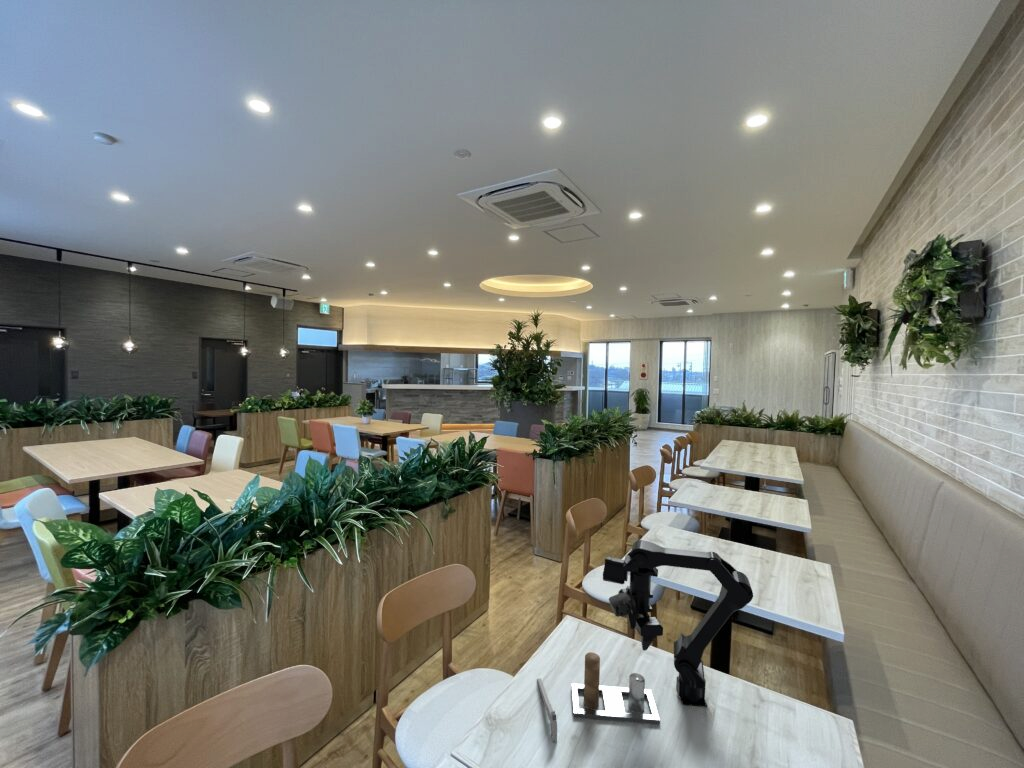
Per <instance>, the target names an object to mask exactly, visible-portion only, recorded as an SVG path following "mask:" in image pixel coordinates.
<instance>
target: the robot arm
mask: <svg viewBox="0 0 1024 768" xmlns="http://www.w3.org/2000/svg"><path fill="white" fill-rule="evenodd" d="M603 566H604V567H603V572H602V581H604V582H608V583H614V584H618V585H624V584H626V583H625V582H628V581H629V585H627V586H626V587H625V588H620V589H619V591H618V593H617V594H615V595H612V596H610V597H609V598H608V601H609V605H610V607H611V610H612V611H613V613H614V616H615V617H618V618H619V617H621V618H622V617H626V616H627V620H628V624H629V628H630V629H631V630H635V629H636V631H637V633H638V635H639V636H640V641H641V649H642V651H647V650H648V649H649V647H650V646H651V644H653V641H654V640H655V639H656V637H660V636H663V635H664V626H663V625H662V624H661V622H660V621H659V620H658V618H656V616H650V614H649V613H653V610H654V609H653V607H652V606H651V599H653V598H654V594H653V592H652V591H651V584H652V577H653V578H654V577H655V578H657V577H659V576H658V575H659V569H658V567H662V566H663V567H674V568H682V569H689V570H690V569H692V570H701V571H708V572H710V573H711V574H713V576H714V577H715V578H716V579H717V582H719V583H720V585H721V587H720V591H719V594H718V597H717V598H716V600H715V601H714V602H713V604H712V605H711V607H710V608H709V609H708V611H707V612H706V613H705V615H703V618H702V619H701V620H700V622H698V624H697V625H696V626H695V628H694V630H693V631H692V632H691V634H689V635H686V636H685V635H684V634H683V633H682V632H681V633H679V637H678V638H677V639H676V640H675V641H673V665H674V666H673V667H674V668H675V670H676V672H677V673H678V675H677V676H676V681H675V682H676V685H675V688H676V689H675V691H676V693H677V695H678V697H679V698H680V701H681V704H682V705H684V706H693V707H694V706H695V707H705V708H706V707H708V702H707V701H706V684H707V682H706V678H705V671H704V661H703V660H702V658H703V655H704V653H705V652H704V651H705V650H706V648H707V647H708V646H709V645H710V643H711V642H712V640H713V639H714V638H715V636H717V634H718V633H719V631H720V630H721V629H722V627H723V626H725V623H726V622H727V621H728V619H729V618H730V617H731V615H732V614H734V612H736V611H739V610H742V609H743V608H745V607H746V606H747V605H748V604H749V603H751V602H752V601H753V598H754V592H753V589H752V587H751V583H750V579H749V578H748V576H747V575H746V574H745V573H743V572H742V571H739V570H737V569H736V568H735V567H733V566H732V564H730V563H729V562H728V561H726V560H724V558H722V557H721V556H720V555H719V554H718V553H717V552H716V551H700V550H689V549H681V548H680V549H679V548H671V547H670V548H669V547H663V546H661V545H658V544H656V543H654V542H651V541H647V540H644V539H643V540H642V539H639V540H638V539H637V540H636V541H634V543H632V546H631V550H630V551H629V552H628V553H627V554H626V555H625V558H624V559H621V558H615V557H612V556H605V558H604V565H603ZM628 578H629V579H628Z"/></svg>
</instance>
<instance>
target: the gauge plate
mask: <svg viewBox="0 0 1024 768" xmlns="http://www.w3.org/2000/svg"><path fill="white" fill-rule="evenodd" d="M579 693H584V683H573V682H572V683H571V699H572V701H571V702H572V714H573V718H576V719H577V718H579V719H580V718H581V719H588V720H589V719H590V720H591V719H592V720H599V721H613V722H614V721H615V722H625V723H626V722H627V723H637V724H638V723H639V724H648V725H649V724H650V725H661V718H660V716H659V712H658V709H657V705H656V703H655V699H654V696H653V692H652V689H650V688H649V689H647V688H645V690H644V698H646V701H647V705H648V709H649V711H650V714H647V713H635V712H626V709H625V705H624V700H623V697H629V687H623V686H610V685H609V686H608V685H599V695H602V699H603V704H604V705H603V707H604V710H601V709H600V710H598V709H589V708H580V706H579V704H580V703H579Z"/></svg>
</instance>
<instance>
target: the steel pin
mask: <svg viewBox="0 0 1024 768" xmlns="http://www.w3.org/2000/svg"><path fill="white" fill-rule="evenodd" d="M628 678H629V679H628V680H629V681H628V688H629V696H628V703H627V704H628V708H629V710H630V711H631V712H632V713H637V714H642V713H643V711H645V710H644V709H645V697H644V690H645V689H646V688H645V685H646V681H645V680H646V679H645V677H644V675H642V674H640V673H637V672H632V673H630V675H629V677H628Z"/></svg>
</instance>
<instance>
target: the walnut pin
mask: <svg viewBox="0 0 1024 768" xmlns="http://www.w3.org/2000/svg"><path fill="white" fill-rule="evenodd" d="M600 668H601V658H600V655H599V654H597V653H596V652H587V653H586V654H585V655H584V674H583V675H584V677H583V678H584V679H583V682H584V683H583V684H584V692H583V704H584V706H585V707H586V709H590V710H597V708H599V704H600V702H599V701H600V694H599V686H600V674H601V670H600Z"/></svg>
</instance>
